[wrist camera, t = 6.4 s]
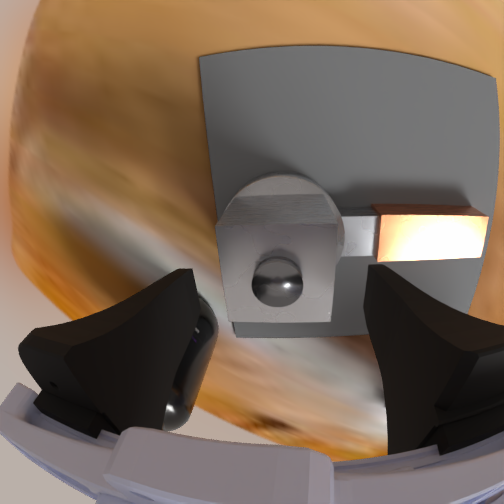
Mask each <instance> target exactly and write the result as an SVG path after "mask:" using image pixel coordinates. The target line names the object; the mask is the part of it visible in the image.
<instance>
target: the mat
mask: <svg viewBox="0 0 504 504" xmlns="http://www.w3.org/2000/svg"><path fill="white" fill-rule="evenodd" d="M199 61H200V72H201V83H202V93H203V103H204V112H205V122H206V131H207V139H208V148H209V156H210V164H211V173H212V180H213V188H214V196H215V203H216V211H217V218H218V221H219V220H220V218H221V217H222V215H223V214H224V211H225V209H226V208H227V206H228V204H229V203H230V202H231V200H232V199H233V197H234V196H235V195H236V193H237V192H238V191H239V190H240V189H241V188H242V187H243V186H244V185H245V184H246V183H247V182H249V181H250V180H252V179H253V178H255V177H257V176H260V175H262V174H265V173H269V172H275V171H290V172H296V173H299V174H303V175H305V176H307V177H309V178H311V179H313V180H314V181H316V182H317V183H319V184H320V185H321V186H322V187H323V188H324V189H325V190H326V191H327V192H328V194H329V195H330V196H331V198H332V200H333V201H334V203H335V205H336V207H371V204H432V205H459V206H472V207H474V208H476V209H477V210H479V211H480V212H482V213H484V214H485V215H487V216H488V217H489V218H488V224H487V229H486V235H485V239H484V244H483V249H482V253H481V257H469V258H449V259H428V260H406V261H381V262H377V260H376V258H375V257H374V256H344V257H340V260H339V262H338V263H337V265H336V268H335V281H334V293H333V304H332V313H331V322H295V323H271V322H234V328H235V334H236V337H243V338H303V337H332V336H350V335H365V334H369V332H368V329H367V326H366V320H365V315H364V309H363V303H364V296H365V289H366V281H367V272H368V265H370V264H383V265H385V266H387V267H388V268H390V269H391V270H393V271H394V272H396V273H397V274H399V275H400V276H401V277H403V278H404V279H406V280H407V281H409V282H410V283H411V284H413V285H414V286H416V287H417V288H419V289H420V290H422V291H423V292H425V293H427V294H428V295H430V296H431V297H433V298H435V299H436V300H438V301H440V302H442V303H444V304H446V305H448V306H450V307H452V308H454V309H456V310H458V311H460V312H463V313H465V314H467V313H468V310H469V308H470V305H471V302H472V299H473V296H474V293H475V290H476V286H477V283H478V280H479V276H480V273H481V269H482V266H483V262H484V258H485V254H486V249H487V245H488V240H489V236H490V231H491V225H492V220H493V213H494V207H495V199H496V191H497V181H498V169H499V144H500V131H499V106H498V94H497V84H496V78H493V77H491V76H488V75H485V74H482V73H479V72H476V71H473V70H470V69H467V68H464V67H461V66H457V65H454V64H450V63H446V62H442V61H438V60H434V59H430V58H425V57H420V56H415V55H410V54H405V53H398V52H392V51H385V50H377V49H367V48H356V47H340V46H286V47H270V48H258V49H249V50H240V51H233V52H226V53H220V54H214V55H208V56H203V57H199Z"/></svg>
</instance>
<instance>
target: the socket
mask: <svg viewBox="0 0 504 504" xmlns="http://www.w3.org/2000/svg"><path fill="white" fill-rule="evenodd" d="M215 231H216V238H217V246H218V253H219V260H220V267H221V274H222V281H223V288H224V294H225V301H226V307H227V314H228V320H229V322H271V323H295V322H331V313H332V304H333V293H334V281H335V268H336V252H337V232H338V223H337V221H336V218H335V216H334V214H333V212H332V210H331V208H330V206H329V204H328V201H327V199H326V197H325V195H324V194H288V195H257V196H236V197H235V198H234V200H233V201H232V202H231V204H230V205H229V207H228V208H227V210H226V211H225V212H224V214H223V215H222V217H221V218H220V220H219V221H218V222H217V224H216V225H215Z"/></svg>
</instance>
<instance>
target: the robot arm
mask: <svg viewBox="0 0 504 504" xmlns="http://www.w3.org/2000/svg"><path fill="white" fill-rule="evenodd" d="M363 309H364V315H365V320H366V326H367V329H368V332H369V335H370V339H371V342H372V345H373V348H374V351H375V354H376V358H377V361H378V364H379V368H380V372H381V376H382V381H383V388H384V395H385V404H386V414H387V431H388V455H387V456H381V457H374V458H367V459H360V460H351V461H340V462H332V461H331V459H330V457H328V456H327V455H325V454H323V453H320V452H317V451H314V450H312V449H309V448H304V447H293V446H284V445H268V444H250V443H238V442H227V441H219V440H212V439H205V438H198V437H192V436H186V435H181V434H176V433H171V432H166V431H162V426H163V421H164V416H165V411H166V407H167V403H168V399H169V395H170V391H171V388H172V384H173V381H174V378H175V374H176V372H177V369H178V367H179V364H180V362H181V360H182V358H183V355H184V353H185V351H186V349H187V346H188V344H189V342H190V340H191V337H192V335H193V333H194V330H195V328H196V325H197V322H198V318H199V314H200V310H201V306H200V302H199V298H198V293H197V288H196V284H195V279H194V274H193V270H192V269H177V270H175V271H173V272H171V273H169V274H168V275H166V276H164V277H163V278H161V279H160V280H158V281H156V282H155V283H153V284H151V285H150V286H148V287H147V288H145V289H143V290H142V291H140V292H138V293H136V294H135V295H133V296H131V297H129V298H128V299H126V300H124V301H122V302H120V303H118V304H116V305H114V306H112V307H110V308H107V309H105V310H103V311H100V312H97V313H95V314H92V315H89V316H87V317H84V318H81V319H77V320H74V321H71V322H66V323H63V324H58V325H53V326H47V327H41V328H35V329H34V330H32V331H31V333H29V334H28V335H27V337H26V338H25V339H24V340H23V341H22V342H21V343H20V344H19V347H18V351H19V355H20V358H21V360H22V362H23V363H24V365H25V367H26V368H27V370H28V371H29V373H30V374H31V376H32V377H33V378H34V380H35V381H36V382H37V384H38V385H39V386H40V388H41V389H42V391H41V392H40V394H39V395H38V394H37V393H36V392H35V391H33V390H32V389H30V388H28V387H26V386H24V385H23V384H21V383H17V384H16V385H15V386H14V388H13V389H12V390H11V392H10V393H9V395H8V396H7V397H6V399H5V400H4V402H3V403H2V404H1V406H0V434H1V435H2V436H3V437H4V438H5V439H6V440H8V441H9V442H10V443H11V444H12V445H13V446H14V447H15V448H17V449H18V450H19V451H20V452H21V453H22V454H24V455H25V456H26V457H27V458H28V459H30V460H31V461H33V462H34V463H35V464H37V465H38V466H40V467H41V468H43V469H44V470H46V471H47V472H48V473H50V474H52V475H53V476H55V477H56V478H58V479H59V480H61V481H63V482H65V483H66V484H68V485H69V486H71V487H73V488H74V489H76V490H78V491H80V492H81V493H83V494H85V495H87V496H89V497H91V498H93V499H95V500H97V501H96V504H504V326H503V325H498V324H495V323H491V322H488V321H485V320H481V319H478V318H476V317H473V316H470V315H468V314H465V313H463V312H460V311H458V310H456V309H454V308H452V307H450V306H448V305H446V304H444V303H442V302H440V301H438V300H436V299H435V298H433V297H431V296H430V295H428V294H427V293H425V292H423V291H422V290H420V289H419V288H417V287H416V286H414V285H413V284H411V283H410V282H409V281H407V280H406V279H404V278H403V277H401V276H400V275H399V274H397V273H396V272H394V271H393V270H391V269H390V268H388V267H387V266H385V265H383V264H370V265H368V272H367V281H366V289H365V296H364V303H363Z"/></svg>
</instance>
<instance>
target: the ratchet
mask: <svg viewBox="0 0 504 504" xmlns="http://www.w3.org/2000/svg"><path fill="white" fill-rule="evenodd" d="M288 194H324V195H325V197H326V199H327V201H328V204H329V206H330V208H331V210H332V212H333V214H334V216H335V218H336V221H337V223H338V232H337V252H336V265H337V263H338V262H339V260H340V257H344V256H374V257H375V258H376V260H377V262H381V261H406V260H428V259H449V258H469V257H481V253H482V249H483V244H484V239H485V235H486V229H487V224H488V218H489V217H488V216H487V215H485V214H484V213H482V212H480V211H479V210H477V209H476V208H474V207H472V206H459V205H432V204H371V207H336V205H335V203H334V201H333V200H332V198H331V196H330V195H329V194H328V192H327V191H326V190H325V189H324V188H323V187H322V186H321V185H320V184H319V183H317V182H316V181H314V180H313V179H311V178H309V177H307V176H305V175H303V174H299V173H296V172H290V171H275V172H269V173H265V174H262V175H260V176H257V177H255V178H253V179H252V180H250V181H249V182H247V183H246V184H245V185H244V186H243V187H242V188H241V189H240V190H239V191H238V192H237V193H236V195H235V196H234V197H233V199H232V200H231V202H232V201H233V200H234V198H235V197H236V196H257V195H288ZM231 202H230V203H229V204H228V206H227V208H228V207H229V205H230V204H231ZM227 208H226V209H225V211H226V210H227ZM225 211H224V212H225Z"/></svg>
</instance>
